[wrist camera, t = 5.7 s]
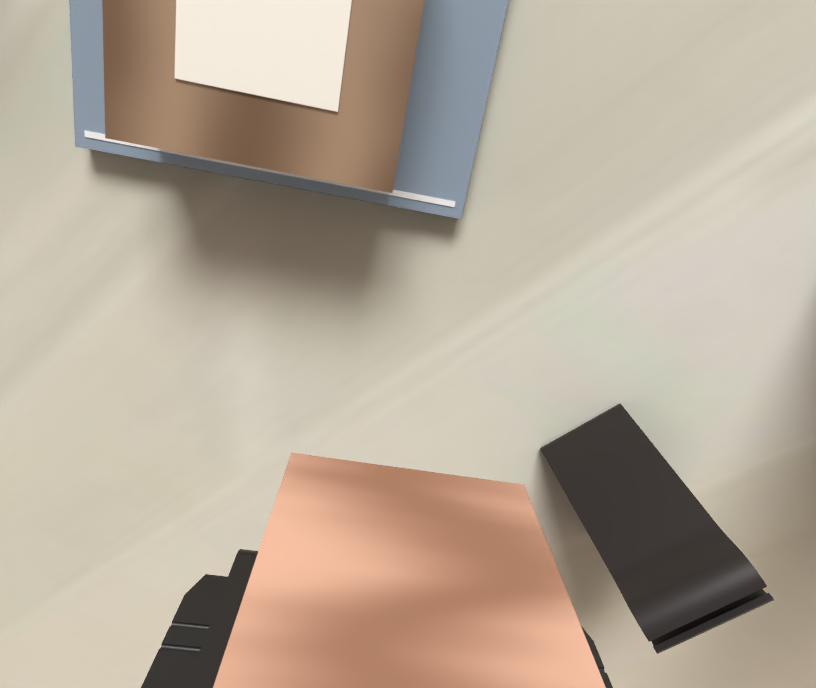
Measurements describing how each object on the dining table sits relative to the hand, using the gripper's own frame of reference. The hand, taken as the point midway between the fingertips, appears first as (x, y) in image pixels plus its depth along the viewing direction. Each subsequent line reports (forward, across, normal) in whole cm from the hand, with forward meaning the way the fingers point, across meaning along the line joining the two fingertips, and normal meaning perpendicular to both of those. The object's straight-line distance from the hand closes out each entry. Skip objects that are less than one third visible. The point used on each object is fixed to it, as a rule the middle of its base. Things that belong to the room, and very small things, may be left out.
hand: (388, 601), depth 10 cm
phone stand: (+21, -17, +9) cm, 29 cm away
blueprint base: (+21, +7, -13) cm, 26 cm away
